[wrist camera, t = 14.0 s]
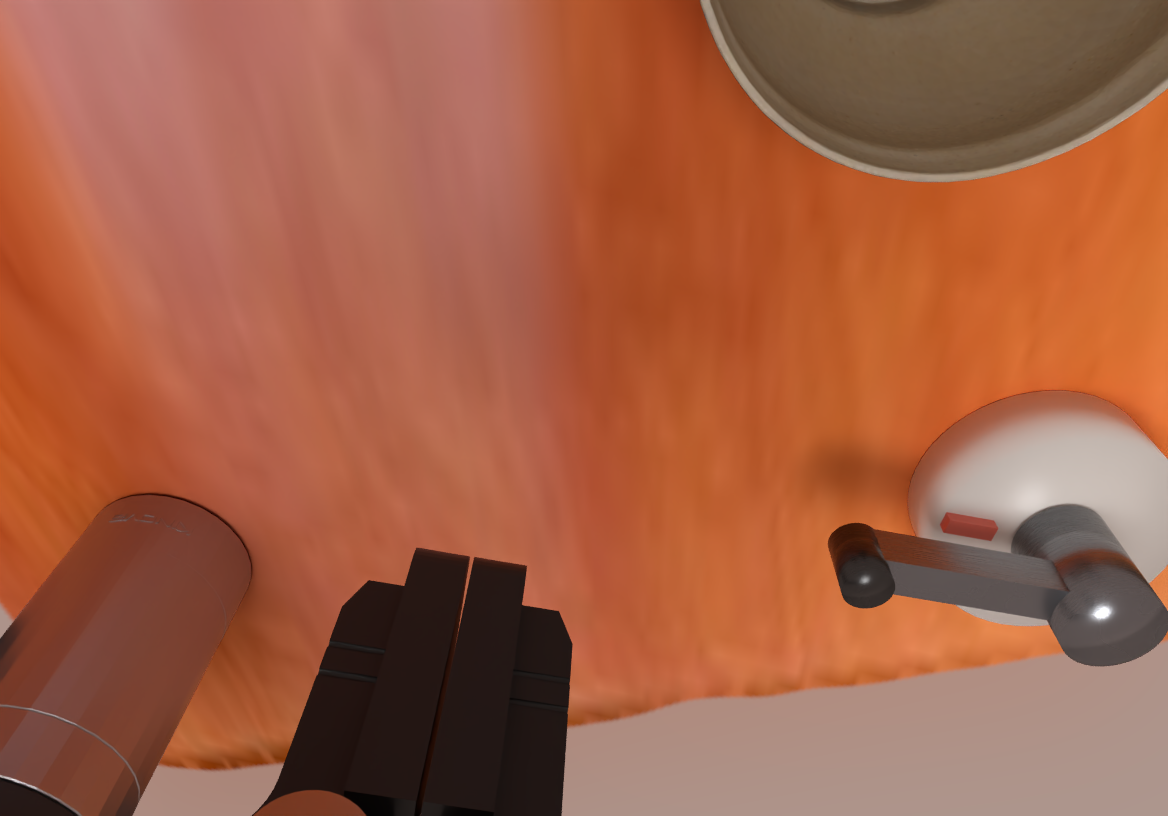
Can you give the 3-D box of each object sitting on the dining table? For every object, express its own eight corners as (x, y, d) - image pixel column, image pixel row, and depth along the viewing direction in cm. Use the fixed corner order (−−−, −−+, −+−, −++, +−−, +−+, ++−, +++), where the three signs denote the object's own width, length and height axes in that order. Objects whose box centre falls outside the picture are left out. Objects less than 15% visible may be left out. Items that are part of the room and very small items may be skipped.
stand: (1077, 588, 50) (1115, 651, 46) (873, 553, 49) (895, 614, 45) (1195, 414, 44) (1251, 470, 40) (964, 370, 43) (998, 422, 39)
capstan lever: (1124, 514, 42) (1190, 603, 37) (1079, 581, 44) (1135, 673, 39) (833, 462, 41) (861, 546, 36) (802, 533, 43) (825, 621, 38)
